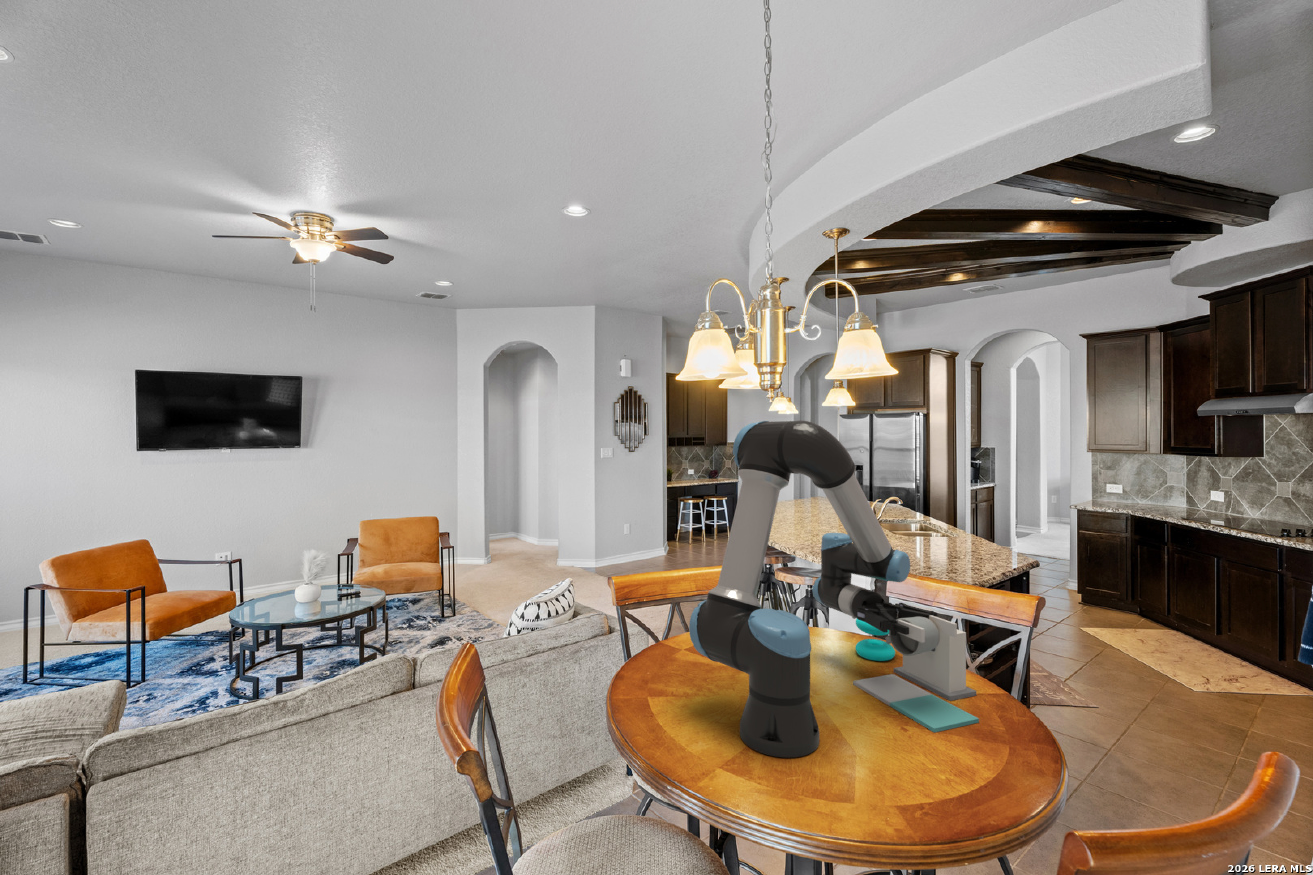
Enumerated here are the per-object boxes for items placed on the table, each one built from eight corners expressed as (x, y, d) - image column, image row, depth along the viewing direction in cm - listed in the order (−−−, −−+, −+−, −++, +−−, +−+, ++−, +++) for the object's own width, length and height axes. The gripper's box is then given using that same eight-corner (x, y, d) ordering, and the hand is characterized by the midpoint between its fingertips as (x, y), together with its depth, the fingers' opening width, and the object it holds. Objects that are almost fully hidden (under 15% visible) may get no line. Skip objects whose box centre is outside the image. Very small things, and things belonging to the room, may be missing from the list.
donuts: (903, 621, 152) (874, 626, 148) (903, 659, 152) (874, 665, 148) (875, 611, 161) (847, 615, 157) (875, 646, 161) (847, 651, 157)
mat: (934, 732, 114) (934, 728, 114) (852, 684, 136) (853, 680, 136) (978, 722, 118) (978, 718, 118) (893, 677, 140) (892, 673, 140)
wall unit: (949, 700, 128) (949, 637, 128) (893, 671, 144) (893, 615, 144) (976, 695, 131) (976, 633, 131) (918, 667, 147) (918, 612, 147)
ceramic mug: (943, 653, 124) (942, 617, 124) (919, 661, 119) (919, 623, 120) (899, 640, 133) (899, 606, 133) (876, 646, 128) (876, 611, 129)
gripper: (895, 614, 144) (976, 644, 123) (827, 624, 136) (900, 658, 115) (895, 584, 144) (976, 609, 123) (827, 592, 136) (900, 620, 115)
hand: (939, 633), depth 119 cm, fingers closed on ceramic mug, 8 cm apart
